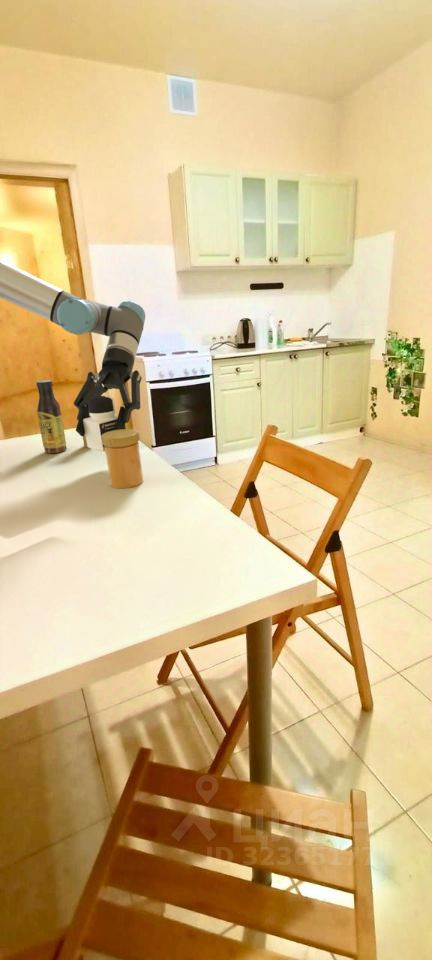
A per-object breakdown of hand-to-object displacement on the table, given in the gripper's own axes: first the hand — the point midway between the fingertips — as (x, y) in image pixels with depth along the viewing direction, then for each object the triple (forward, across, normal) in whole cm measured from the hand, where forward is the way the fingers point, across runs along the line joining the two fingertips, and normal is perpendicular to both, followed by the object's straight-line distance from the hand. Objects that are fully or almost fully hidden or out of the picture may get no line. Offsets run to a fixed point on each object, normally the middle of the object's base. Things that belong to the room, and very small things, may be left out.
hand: (98, 433), depth 105 cm
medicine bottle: (+1, 0, -5) cm, 5 cm away
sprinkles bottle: (-8, +16, -22) cm, 29 cm away
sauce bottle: (-4, +24, -18) cm, 30 cm away
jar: (+11, -9, -2) cm, 15 cm away
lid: (+4, -9, +6) cm, 11 cm away
